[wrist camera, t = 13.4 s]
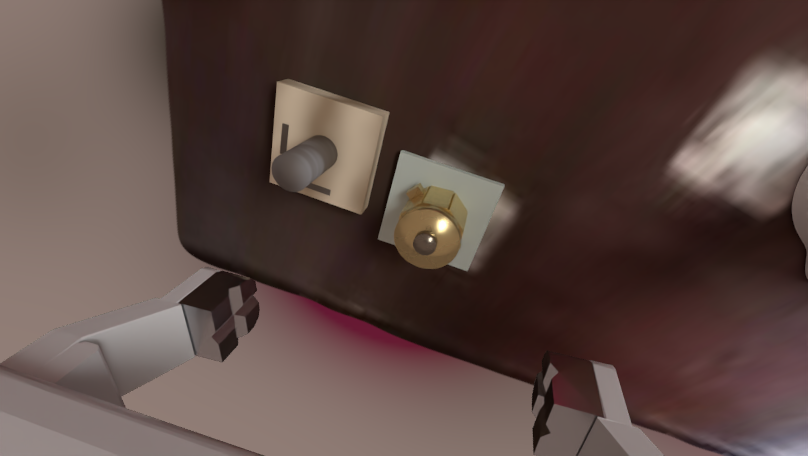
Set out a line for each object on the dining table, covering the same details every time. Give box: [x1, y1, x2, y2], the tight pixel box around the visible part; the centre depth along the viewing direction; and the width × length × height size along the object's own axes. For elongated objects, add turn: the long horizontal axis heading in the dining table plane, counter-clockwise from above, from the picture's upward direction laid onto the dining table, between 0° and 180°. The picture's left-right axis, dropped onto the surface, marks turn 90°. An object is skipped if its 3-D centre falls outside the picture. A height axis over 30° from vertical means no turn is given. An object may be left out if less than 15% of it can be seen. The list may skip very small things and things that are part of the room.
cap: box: [394, 183, 468, 269], centre depth 35 cm, size 6×7×6 cm
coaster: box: [378, 150, 504, 271], centre depth 38 cm, size 10×10×1 cm
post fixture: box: [270, 79, 389, 215], centre depth 34 cm, size 10×10×8 cm
